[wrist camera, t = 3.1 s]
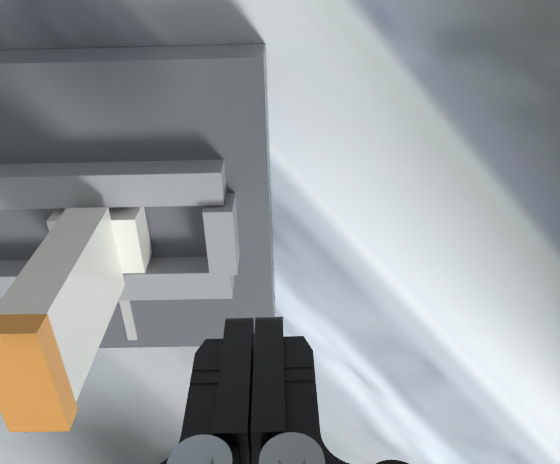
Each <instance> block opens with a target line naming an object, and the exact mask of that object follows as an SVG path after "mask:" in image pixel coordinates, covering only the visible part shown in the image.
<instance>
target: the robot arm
mask: <svg viewBox="0 0 560 464" xmlns="http://www.w3.org/2000/svg"><path fill="white" fill-rule="evenodd" d="M161 464H349V463H346V462H344V461H342V460H340V459H338V458H337V457H335V456H334V455H333V454H332V453H330V452H329V450H328V449H327V448H326V447H325V445H324V443H323V441H322V438H321V434H320V425H319V414H318V403H317V392H316V383H315V370H314V359H313V350H312V349H311V347H310V346H309V344H308V342H307V341H306V339H305V338H304V336H294V337H283V317H256V318H255V330H254V319H253V318H226V320H225V326H224V335H223V339H205V341H204V342H203V343H202V345H201V346H200V348H199V349H198V350H197V352H196V353H195V357H194V363H193V369H192V375H191V381H190V387H189V392H188V398H187V404H186V410H185V416H184V421H183V427H182V433H181V438H180V441H179V444H178V445H177V446H176V447H175V448H174V449H173V450H172V452H171V454H170V455H169V457H168V458H167V459H166V460H165V461H163V462H162V463H161ZM376 464H408V463H405V462H402V461H398V460H385V461H381V462H378V463H376Z"/></svg>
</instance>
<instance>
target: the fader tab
mask: <svg viewBox="0 0 560 464" xmlns="http://www.w3.org/2000/svg"><path fill="white" fill-rule="evenodd" d="M46 222H47V226H48V229H49V233H48V234H47V236H46V237H45V239H44V240H43V241H42V243H41V244H40V246H39V247H38V248H37V250H36V251H35V252H34V254H33V255H32V257H31V258H30V259H29V261H28V262H27V264H26V265H25V266H24V268H23V269H22V271H21V272H20V273H19V275H18V276H17V278H16V279H15V280H14V282H13V283H12V284H11V286H10V287H9V289H8V290H7V291H6V293H5V294H4V296H3V297H2V298H1V300H0V411H1V414H2V416H3V418H4V421H5V423H6V425H7V428H8V430H9V432H52V431H70V429H71V427H72V424H73V422H74V419H75V417H76V414H77V412H78V408H77V405H76V401H77V399H78V396H79V394H80V391H81V389H82V387H83V384H84V382H85V379H86V377H87V375H88V372H89V370H90V367H91V365H92V363H93V360H94V358H95V355H96V353H97V351H98V348H99V346H100V343H101V341H102V339H103V336H104V334H105V331H106V329H107V327H108V324H109V322H110V319H111V317H112V315H113V312H114V310H115V307H116V305H117V303H118V300H119V298H120V295H121V293H122V291H123V288H124V286H125V282H124V278H123V273H145V271H146V268H147V266H148V263H149V261H150V258H151V255H152V249H151V243H150V237H149V232H148V226H147V220H146V215H145V209H144V207H110V208H108V207H93V208H61V209H55V211H54V212H53V213H52V215H51V216H50V217H49V219H48V220H47V221H46Z"/></svg>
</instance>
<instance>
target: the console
mask: <svg viewBox="0 0 560 464" xmlns="http://www.w3.org/2000/svg"><path fill="white" fill-rule="evenodd" d="M93 207H108V208H110V207H144V209H145V215H146V220H147V226H148V232H149V237H150V243H151V249H152V255H151V258H150V261H149V263H148V266H147V268H146V271H145V273H123V278H124V282H125V286H124V288H123V291H122V293H121V295H120V298H119V300H118V303H117V305H116V307H115V310H114V312H113V315H112V317H111V319H110V322H109V324H108V327H107V329H106V331H105V334H104V336H103V339H102V341H101V343H100V346H99V348H121V347H182V346H201V345H202V343H203V342H204V341H205V339H223V335H224V326H225V320H226V318H253V319H254V330H255V318H256V317H275V294H274V267H273V240H272V213H271V186H270V159H269V132H268V105H267V78H266V51H265V44H229V45H188V46H147V47H106V48H66V49H25V50H0V300H1V298H2V297H3V296H4V294H5V293H6V291H7V290H8V289H9V287H10V286H11V284H12V283H13V282H14V280H15V279H16V278H17V276H18V275H19V273H20V272H21V271H22V269H23V268H24V266H25V265H26V264H27V262H28V261H29V259H30V258H31V257H32V255H33V254H34V252H35V251H36V250H37V248H38V247H39V246H40V244H41V243H42V241H43V240H44V239H45V237H46V236H47V234H48V233H49V229H48V226H47V222H46V221H47V220H48V219H49V217H50V216H51V215H52V213H53V212H54V211H55V209H61V208H93Z"/></svg>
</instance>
